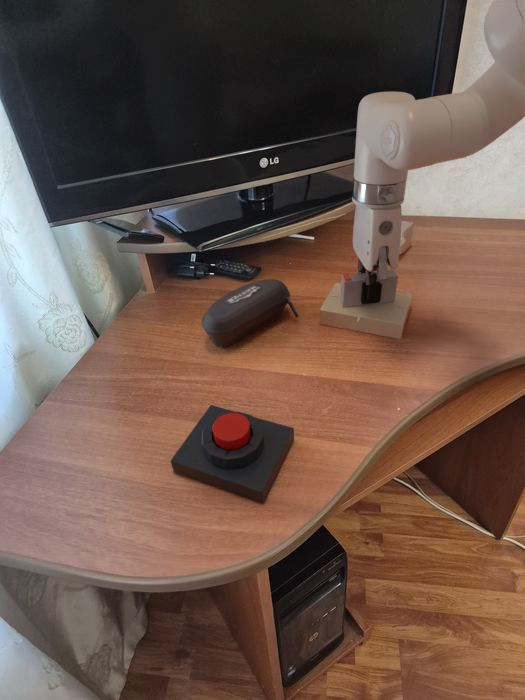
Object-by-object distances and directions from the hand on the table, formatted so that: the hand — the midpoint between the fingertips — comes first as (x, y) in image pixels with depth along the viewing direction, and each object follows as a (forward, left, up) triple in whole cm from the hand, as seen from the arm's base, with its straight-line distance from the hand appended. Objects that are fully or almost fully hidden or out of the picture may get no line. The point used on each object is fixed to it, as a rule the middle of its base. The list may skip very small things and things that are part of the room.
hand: (367, 297), depth 75 cm
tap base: (0, 0, -4) cm, 4 cm away
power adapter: (0, -26, -4) cm, 26 cm away
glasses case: (+18, +10, -4) cm, 21 cm away
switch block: (+8, +36, -4) cm, 37 cm away
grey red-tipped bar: (0, 0, -1) cm, 1 cm away
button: (+8, +36, 0) cm, 37 cm away
